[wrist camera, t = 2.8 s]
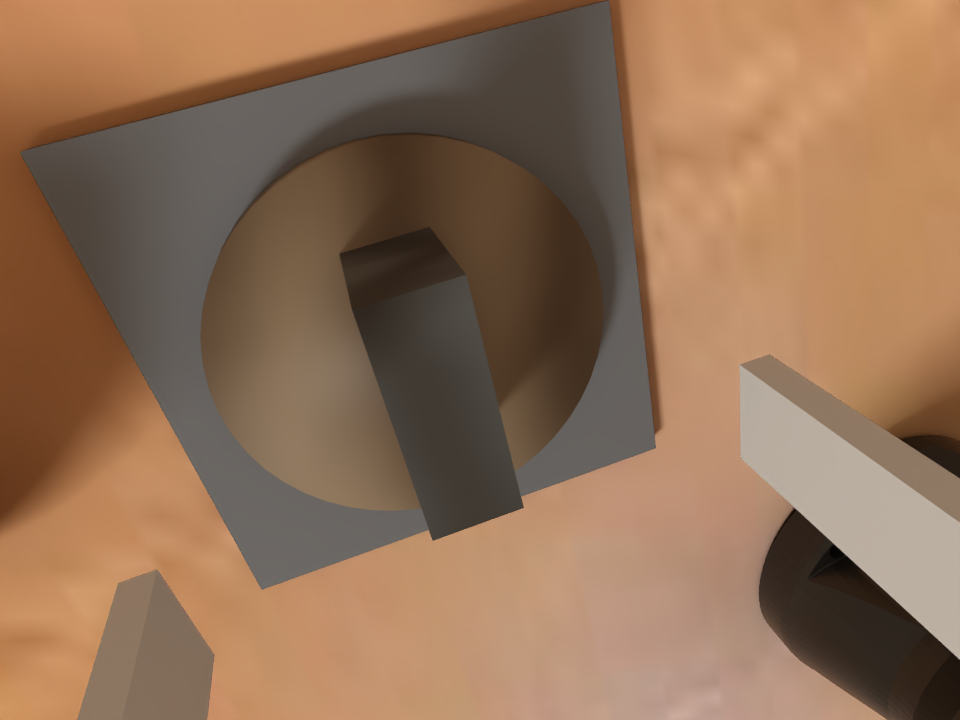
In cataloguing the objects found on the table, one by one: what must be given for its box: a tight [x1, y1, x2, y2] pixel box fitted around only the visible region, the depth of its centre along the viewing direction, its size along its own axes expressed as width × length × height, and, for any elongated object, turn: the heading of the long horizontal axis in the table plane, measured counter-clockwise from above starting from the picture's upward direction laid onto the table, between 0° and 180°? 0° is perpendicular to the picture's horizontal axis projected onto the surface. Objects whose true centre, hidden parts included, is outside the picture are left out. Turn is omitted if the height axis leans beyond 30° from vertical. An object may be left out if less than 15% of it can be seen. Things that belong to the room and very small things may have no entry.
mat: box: [20, 0, 656, 589], centre depth 24 cm, size 18×18×1 cm
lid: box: [200, 132, 603, 540], centre depth 21 cm, size 14×14×6 cm
